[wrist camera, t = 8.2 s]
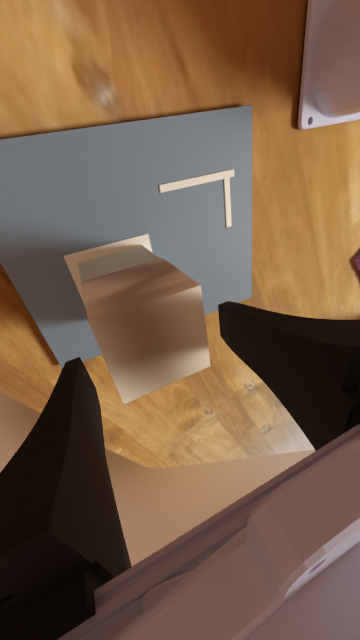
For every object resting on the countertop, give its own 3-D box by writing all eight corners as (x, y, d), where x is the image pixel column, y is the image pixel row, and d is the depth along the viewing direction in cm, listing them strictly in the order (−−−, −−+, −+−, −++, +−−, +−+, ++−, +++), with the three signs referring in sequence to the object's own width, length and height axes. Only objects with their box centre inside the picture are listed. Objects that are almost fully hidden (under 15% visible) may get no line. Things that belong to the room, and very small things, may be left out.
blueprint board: (245, 107, 18) (253, 104, 18) (247, 294, 27) (252, 297, 26) (-61, 150, 13) (-68, 148, 12) (62, 363, 22) (62, 370, 21)
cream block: (163, 257, 15) (200, 285, 11) (176, 324, 18) (210, 366, 14) (80, 281, 14) (88, 323, 10) (108, 349, 16) (124, 404, 12)
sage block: (141, 245, 19) (163, 261, 15) (155, 300, 22) (177, 326, 18) (77, 262, 18) (82, 285, 14) (100, 319, 20) (110, 352, 16)
